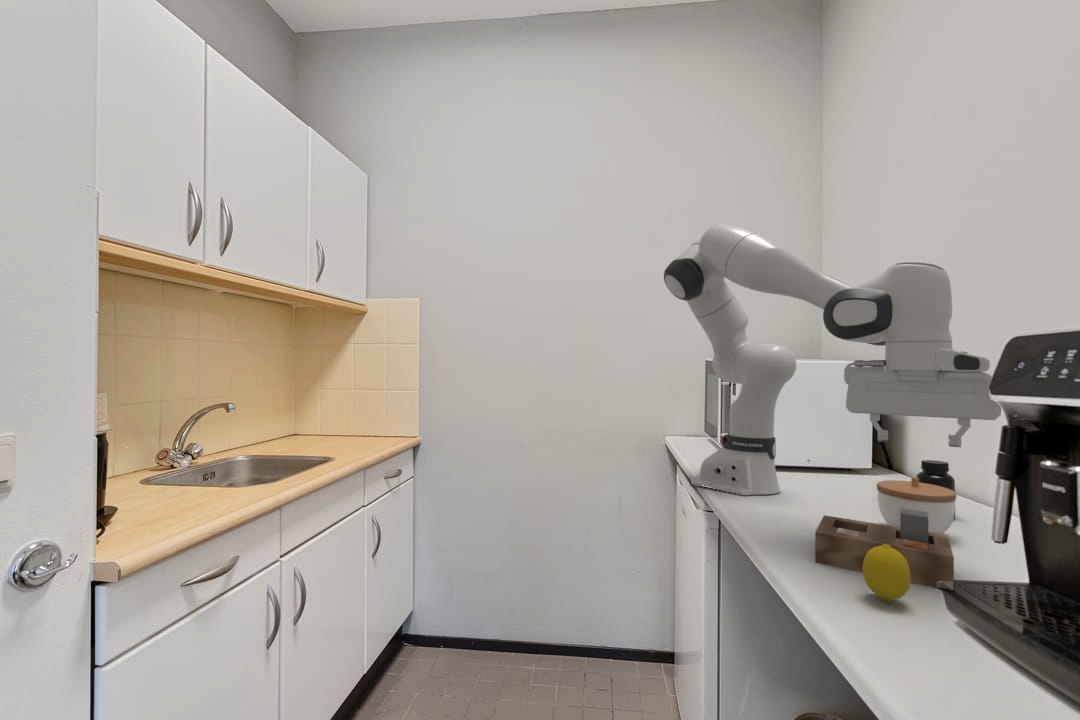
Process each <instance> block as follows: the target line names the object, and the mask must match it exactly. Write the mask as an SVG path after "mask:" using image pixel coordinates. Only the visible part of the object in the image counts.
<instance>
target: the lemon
mask: <svg viewBox="0 0 1080 720" xmlns="http://www.w3.org/2000/svg"><path fill="white" fill-rule="evenodd" d="M862 576H863V579H864V581H865V582H864V583H865V584H866V585H867V587H868V588H869V589H870V591H871V592H872V593H874V594H875V595H877V596H878V597H880V598H881V600H882V601H884V602H887V603H888V602H890V601H892V600H895V599H896V600H897V599H900V598H902V597H903V596H906V595H905V594H907V593H908V591H909V589H910V586H911V583H912V582H911V576H910V569H909V566H908V563H907V561H906V559H905V558H904V556H903V555H902V554H901V553H900V552H898V551H897V550H895V549H894V548H891V547H890V545H888V544H883V545H882V546H876V547H874V548H872V549H870V550H869V551H868V552H867V554H866V555H865V558H864V562H863V572H862Z"/></svg>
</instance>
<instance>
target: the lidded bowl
mask: <svg viewBox="0 0 1080 720" xmlns="http://www.w3.org/2000/svg"><path fill="white" fill-rule="evenodd" d="M910 478H911V479H910V481H909V480H897V479H894V480H888V479H887V480H881V481H878V482H876V489H877V502H878V508H879V511H880V514H881V517H882V518H883V520H884V521H885V522H886V523H887V524H888V526H894V527H900V508H902V509H909V510H916V511H923V512H927V514H928V532H931V533H937V534H944V533H945V532H947V531H948V529H949V528H951V526H952V523H953V521H954V513H955V514H956V500H957V492H956V491H955V492H954V491H953V490H950V489H948V488H944V487H941V486H937V485H932V484H926V483H920V482H919V478H916V477H914V476H912V477H910Z"/></svg>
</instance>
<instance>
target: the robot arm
mask: <svg viewBox="0 0 1080 720" xmlns="http://www.w3.org/2000/svg"><path fill="white" fill-rule="evenodd" d="M725 279H727V280H729V281H730V282H732V283H734V284H736V285H738V286H741V287H743V288H746V289H747V290H748V289H749V290H753V291H756V292H759V293H765V294H772V295H779V296H784V297H791V298H794V299H799V300H802V301H804V302H806V303H809V304H810V305H813V306H815V307H817V308H819V309H821V310H823V311H822V312H823V313H822V320H823V324H824V326H825V327H824V328H825V329H826V330H827V331H828V333H830V334H831V335H832V336H834V337H836V338H838V339H841V340H843V341H846V342H852V343H853V342H855V343H856V342H857V343H861V344H864V343H866V344H869V345H872V346H878V347H879V346H880V347H881V346H885V347H884V349H885V352H884V353H885V355H884V356H885V357H884V358H885V359H874V360H873V359H872V360H863V359H857V360H854V361H853V362H851V363H848V364H847V365H846V366H845V367H844V370H843V373H844V374H843V375H844V376H843V378H844V383H845V384H846V385H848V387H847V392H846V400H845V408H846V410H848V411H849V412H850V413H851V414H865V415H866V414H868V415H869V421H870V422H871V424H872V426H873V427H874V429H875V430H876V431H877V441H878V442H883V443H884V442H885V443H886V442H887V443H888V442H889V430H886V429H883V427H881V426H880V424H879V422H880V420H881V415H888V416H889V415H890V416H903V417H905V416H907V417H925V418H943V419H945V418H946V419H957V425H959V426H960V427H959V429H958V430H957V431H956V432H955V434H948V447H950V448H962V437H963V436H964V435H965V434H966V433H967V431H968V430H969V429H970V428H971V420H979V421H980V420H983V421H984V420H985V421H996V420H997V419H998V418H999V417H1000V416H1001V414H1002V405H1001V406H1000V405H999V404H998V403H997V402H995V401H993V400H991V399H990V397H989V385H990V382H991V380H992V377H993V376H992V375H991V374H988V373H987V372H988V371H989V370H990V366H991V362H990V359H988V358H987V357H984V356H980V355H975V354H972V353H968V352H967V351H963V350H962V351H958V350H954V348H953V339H952V335H951V332H950V323H951V319H952V316H953V298H952V288H951V287H952V286H951V281H950V276H949V274H948V272H947V271H946V270H945V269H944V268H942V267H940V266H938V265H936V264H933V263H926V262H915V261H914V262H911V261H909V262H897V263H895V264H893V265H890V267H888V268H887V269H886V270H885V271H884V272H882V273H881V274H879V275H877V276H876V277H873V278H871V279H869V280H867V281H865V282H863V283H860V284H857V285H855V286H851V285H849V284H847V283H845V282H843V281H841V280H838V279H836V278H834V277H831V276H830V275H829V276H828V275H826V274H825V273H822V272H820V271H818V270H816V268H813V267H811V265H809V264H807V263H806V262H804V261H803V260H801V259H800V258H798V256H796V255H794V254H793V253H791V252H790V251H789V250H787V249H786V248H785V247H783V246H782V245H780V244H779V243H777V242H775V241H773V240H772V239H771V238H768V237H766V236H764V235H762V234H761V233H758V232H756V231H753V230H751V229H747V228H745V227H742V226H738V225H734V224H730V223H716V224H714V225H712V226H710V227H709V228H708V229H706V231H705V232H704V233H703V234H702V236H701V238H699V239H698V240H696V241H695V242H694V243H692V244H691V245H690V246H689V247H688V248H687V249H686V250H684V251H683V252H682V253H681V254H680V255H679V256H678V257H677V258H676V259H673V260H672V261H671V262H670V263H669V265H667V267H666V268H665V270H664V272H663V280H664V281H663V282H664V283H665V286H666V287H667V289H668V291H669V292H670V293H671V294H672V295H673V296H674V297H675V298H676V299H679V300H682V301H685V302H687V305H688V306H689V309H690V310H691V312H692V313H693V315H694V317H695V318H696V321H698V323H699V324H700V326H701V327H702V329H703V331H704V333H705V334H706V337H708V339H709V342H710V344H711V347H712V351H713V358H712V361H711V364H712V365H711V366H712V370H713V372H714V374H715V375H716V377H718V378H719V379H721V380H722V381H725V382H728V383H732V384H735V385H736V384H740V385H741V388H740V392H739V394H738V396H737V398H736V400H734V401H732V403H731V404H730V406H729V411H728V412H729V416H728V417H729V418H728V419H729V423H728V424H729V428H728V429H729V432H728V433H726V434H724V435H723V436H722V437H721V438H720V443H721V446H722V447H721V448H719V449H718V450H716V451H715V452H714V453H712V454H711V455H709V456H708V457H706V458H705V459H704V460H703V461H702V463H701V465H700V469H699V474H698V475H695V476H692V478H691V479H690V483H691V485H692V486H695V487H700V486H702V485H704V486H708V487H711V488H715V489H719V490H723V491H722V492H724V491H726V492H725V493H729V492H731V494H734V493H736V494H735V495H739V494H740V496H753V495H773V494H778V493H780V492H781V489H780V485H779V482H778V477H777V471H776V463H775V459H776V455H777V441H776V437H775V436H774V435H775V409H776V405H777V401H778V397H779V395H780V394H781V391H782V390H783V387H784V386H785V385H786V383H787V382H789V381H790V380H791V379H792V377H794V375H795V373H796V370H797V359H796V356H795V354H794V352H793V351H792V350H791V349H790V348H789V347H787V346H786V345H782V344H778V343H777V344H776V343H772V342H767V343H766V342H763V343H762V342H761V343H752V342H751V341H750V340H749V338H748V335H747V333H746V332H747V331H746V329H747V327H748V325H749V317H748V315H747V314H746V312H745V310H744V309H743V307H742V305H741V303H740V302H739V301H738V299H737V297H736V296H735V295H734V292H732V289H731V288H730V287H729V285H728V284H727V283H726V281H725ZM719 490H718V491H719Z"/></svg>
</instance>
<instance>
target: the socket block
mask: <svg viewBox="0 0 1080 720" xmlns="http://www.w3.org/2000/svg"><path fill="white" fill-rule="evenodd" d="M814 537H815V538H814V540H815V541H814V552H815V553H814V562H815V561H816V562H815V563H818V562H820V563H819V564H822V563H824V564H823V565H827V564H828V566H832V565H833V567H837V568H841V569H842V568H843V569H847V570H851V571H856V572H861V573H863V562H864V558H865V555H866V554H867V552H868V551H869V550H870V549H872V548H874V547H876V546H882V545H883V544H888V545H890V547H891V548H894V549H895V550H897V551H898V552H900V553H901V554H902V555H903V556H904V558H905V559H906V561H907V563H908V566H909V569H910V576H911V582H910V583H913V584H918V585H922V586H927V587H933V588H935V589H936V588H937V582H939V581H954V582H955V580H954V579H955V566H954V565H955V556H954V553H953V550H952V549H953V548H952V546H951V542H950V540H949V535H948V534H944V533H942V534H937V533H931V532H928V543H924V542H918V541H912V540H906V539H900V527H894V526H890V525H889V524H888V525H886V524H880V523H873V522H867V521H863V520H862V521H861V520H858V519H857V520H856V519H850V518H844V517H838V516H837V517H836V516H830V515H825V514H824V515H823V516H822V518H821V520H820V522H819V524H818V526H817V528H816V530H815V533H814ZM937 589H938V588H937Z"/></svg>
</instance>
